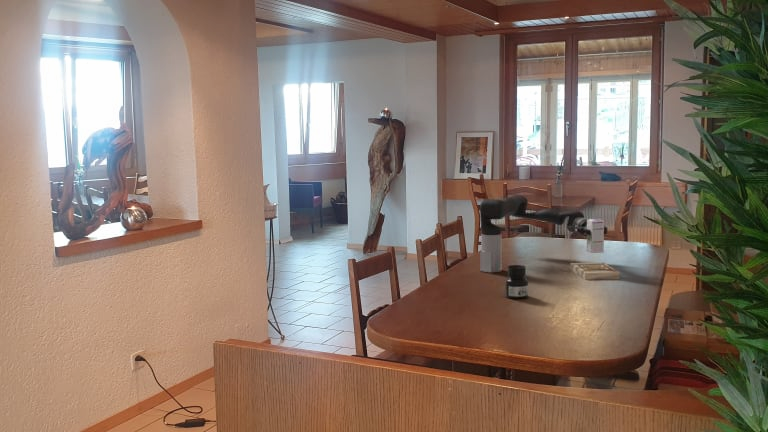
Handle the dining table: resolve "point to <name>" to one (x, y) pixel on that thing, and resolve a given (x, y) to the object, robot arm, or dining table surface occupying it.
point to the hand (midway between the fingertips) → (597, 232)
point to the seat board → (594, 271)
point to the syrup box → (595, 236)
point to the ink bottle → (516, 282)
